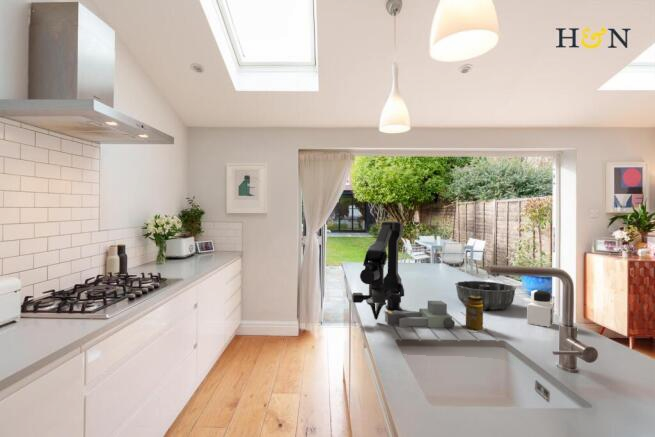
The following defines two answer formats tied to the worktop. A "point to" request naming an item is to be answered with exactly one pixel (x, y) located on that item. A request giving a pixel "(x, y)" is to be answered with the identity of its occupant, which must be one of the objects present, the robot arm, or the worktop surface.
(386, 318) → the grey rectangular block
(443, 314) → the grey blocky piece
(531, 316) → the container
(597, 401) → the worktop surface
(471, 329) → the condiment
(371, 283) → the robot arm
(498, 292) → the bundt pan
